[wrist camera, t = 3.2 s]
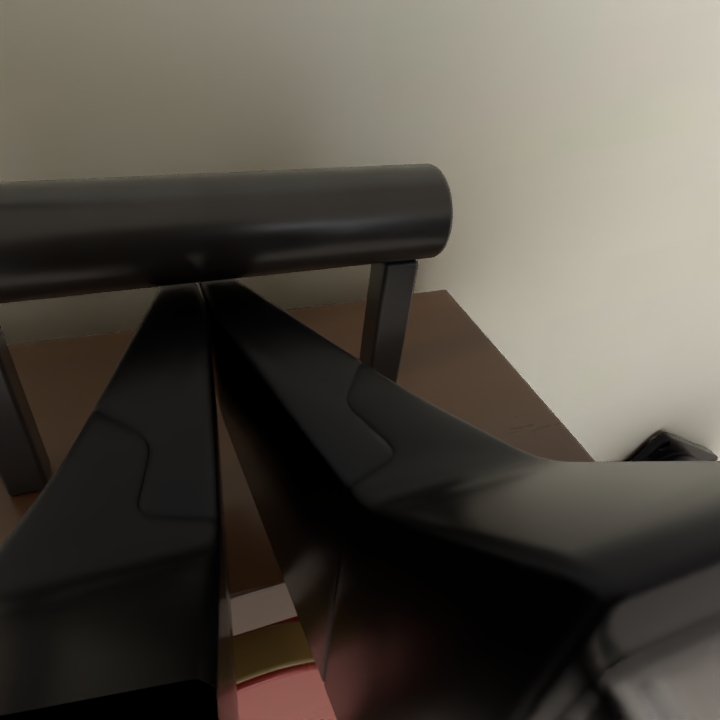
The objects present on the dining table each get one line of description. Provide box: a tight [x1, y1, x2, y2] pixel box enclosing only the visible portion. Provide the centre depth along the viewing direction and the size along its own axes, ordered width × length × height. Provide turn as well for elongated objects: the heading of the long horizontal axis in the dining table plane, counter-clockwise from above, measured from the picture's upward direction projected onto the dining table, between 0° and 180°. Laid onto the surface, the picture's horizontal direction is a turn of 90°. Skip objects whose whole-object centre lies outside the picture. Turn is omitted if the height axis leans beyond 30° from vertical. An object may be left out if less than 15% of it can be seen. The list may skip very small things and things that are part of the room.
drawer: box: [0, 164, 595, 636], centre depth 14 cm, size 20×13×7 cm, turn 174°
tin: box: [233, 616, 337, 720], centre depth 13 cm, size 5×5×6 cm
